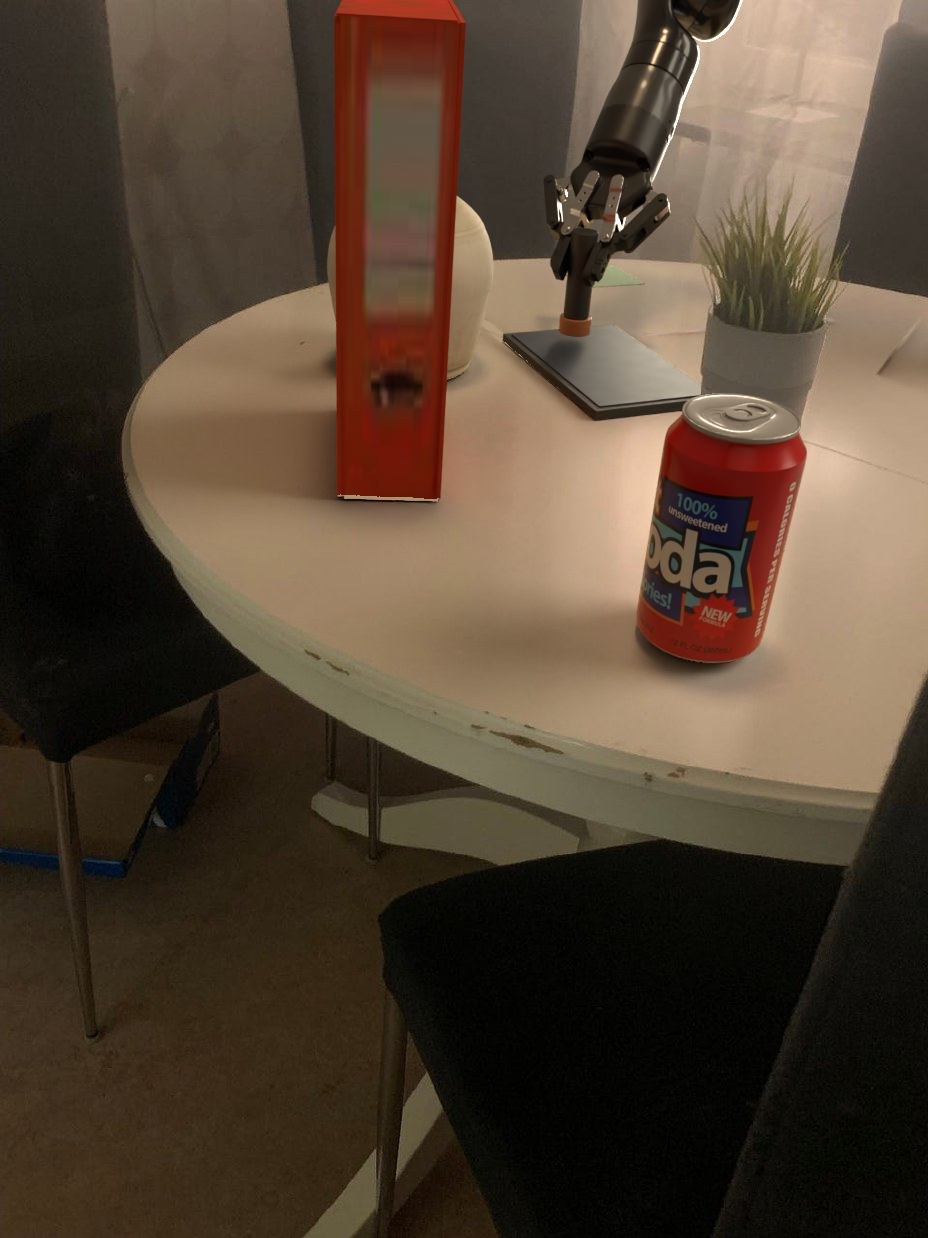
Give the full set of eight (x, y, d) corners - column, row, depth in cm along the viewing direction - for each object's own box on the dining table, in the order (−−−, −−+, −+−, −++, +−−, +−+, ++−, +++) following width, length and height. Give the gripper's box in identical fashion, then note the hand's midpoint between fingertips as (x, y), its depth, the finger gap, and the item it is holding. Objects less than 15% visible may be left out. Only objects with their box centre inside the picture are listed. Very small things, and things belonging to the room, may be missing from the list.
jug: (435, 406, 97) (446, 100, 83) (296, 368, 103) (285, 77, 89) (514, 358, 108) (535, 81, 94) (385, 326, 114) (387, 62, 100)
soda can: (786, 649, 67) (844, 424, 59) (697, 689, 63) (746, 454, 55) (695, 591, 72) (737, 377, 64) (608, 625, 68) (640, 402, 60)
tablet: (613, 332, 116) (614, 323, 116) (719, 405, 100) (721, 395, 100) (502, 341, 112) (502, 332, 111) (594, 420, 96) (596, 410, 95)
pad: (613, 269, 136) (614, 264, 136) (644, 288, 130) (645, 283, 130) (556, 273, 134) (557, 268, 133) (585, 292, 128) (586, 287, 127)
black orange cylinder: (581, 325, 112) (592, 226, 107) (595, 335, 110) (607, 234, 104) (553, 327, 111) (563, 227, 106) (567, 338, 109) (577, 236, 103)
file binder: (436, 411, 96) (452, -3, 78) (444, 502, 81) (466, 19, 64) (345, 409, 95) (340, -9, 77) (337, 500, 81) (328, 12, 63)
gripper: (562, 92, 107) (498, 244, 105) (697, 110, 102) (632, 270, 100) (578, 142, 114) (518, 286, 112) (705, 161, 109) (645, 312, 106)
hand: (572, 278), depth 106 cm, fingers closed on black orange cylinder, 2 cm apart
